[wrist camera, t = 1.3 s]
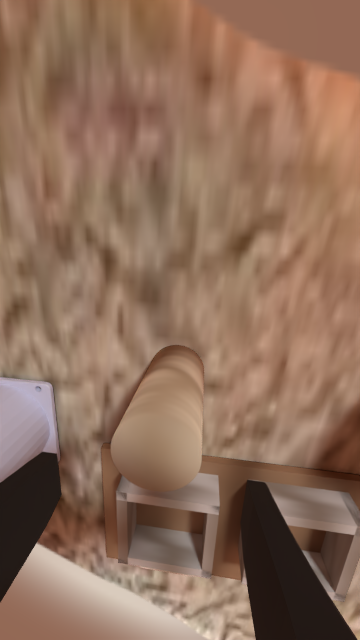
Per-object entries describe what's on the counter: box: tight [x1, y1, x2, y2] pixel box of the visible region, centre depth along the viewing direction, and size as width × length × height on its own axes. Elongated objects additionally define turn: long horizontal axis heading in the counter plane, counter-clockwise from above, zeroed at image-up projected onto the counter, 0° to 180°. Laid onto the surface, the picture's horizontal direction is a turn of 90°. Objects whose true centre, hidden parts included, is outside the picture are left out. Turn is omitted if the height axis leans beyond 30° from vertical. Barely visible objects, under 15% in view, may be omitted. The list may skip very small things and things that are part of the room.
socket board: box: [101, 443, 360, 602], centre depth 20 cm, size 22×13×3 cm, turn 87°
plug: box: [111, 345, 204, 492], centre depth 14 cm, size 4×4×8 cm
